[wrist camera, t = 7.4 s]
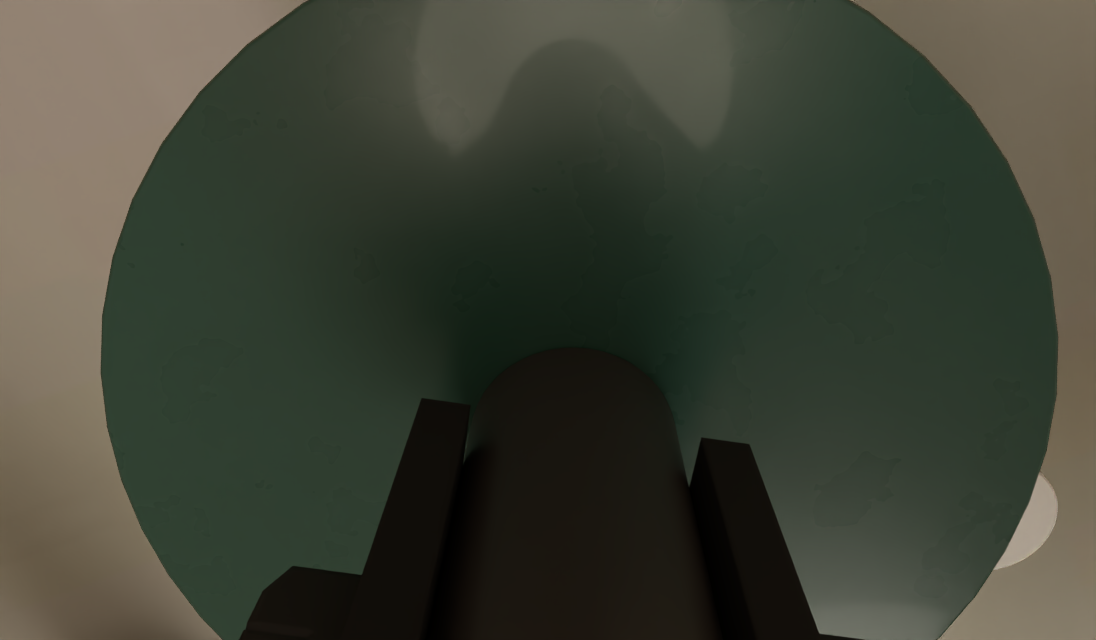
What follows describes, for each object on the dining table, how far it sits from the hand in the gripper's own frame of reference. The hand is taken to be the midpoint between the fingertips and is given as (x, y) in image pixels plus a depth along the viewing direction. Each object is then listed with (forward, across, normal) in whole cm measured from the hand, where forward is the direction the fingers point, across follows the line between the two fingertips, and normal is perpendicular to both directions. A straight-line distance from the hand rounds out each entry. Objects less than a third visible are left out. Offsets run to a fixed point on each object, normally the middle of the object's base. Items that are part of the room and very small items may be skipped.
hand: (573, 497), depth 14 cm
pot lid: (+2, 0, 0) cm, 2 cm away
